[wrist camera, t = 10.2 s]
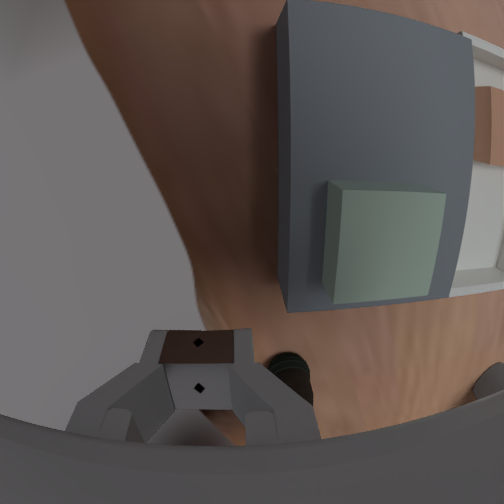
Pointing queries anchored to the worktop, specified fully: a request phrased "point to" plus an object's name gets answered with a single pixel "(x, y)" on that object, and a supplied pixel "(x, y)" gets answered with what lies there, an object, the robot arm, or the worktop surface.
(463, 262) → the box
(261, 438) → the robot arm
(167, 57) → the worktop surface
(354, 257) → the tile
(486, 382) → the coffee cup
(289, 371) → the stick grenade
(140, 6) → the worktop surface
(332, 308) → the dark grey slab
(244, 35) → the worktop surface
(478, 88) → the tile
